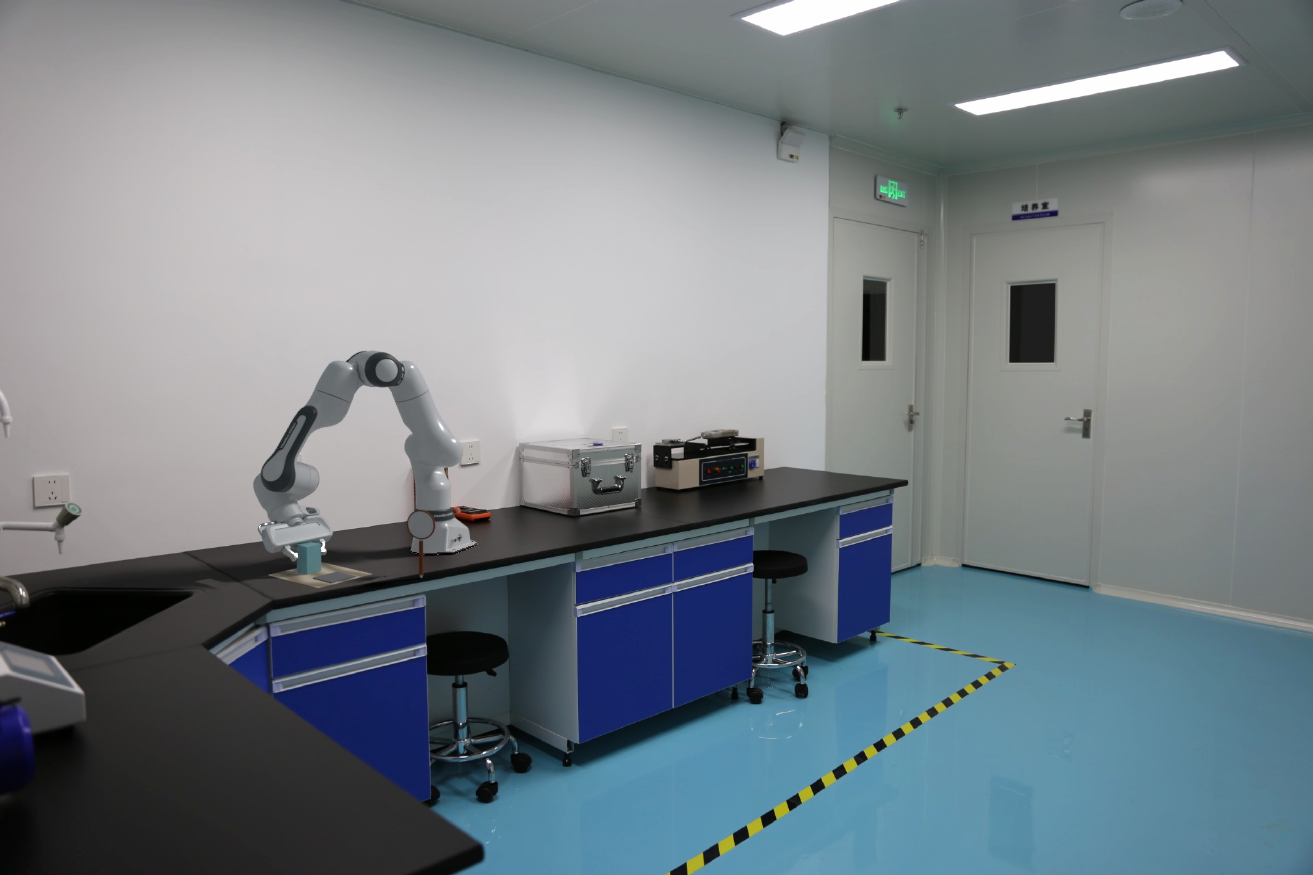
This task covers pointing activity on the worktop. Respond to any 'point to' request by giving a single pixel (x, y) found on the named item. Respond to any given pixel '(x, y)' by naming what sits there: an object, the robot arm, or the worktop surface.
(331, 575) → the pad
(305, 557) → the teal pillar
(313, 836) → the worktop surface
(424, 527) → the magnifying glass
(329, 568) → the post board
